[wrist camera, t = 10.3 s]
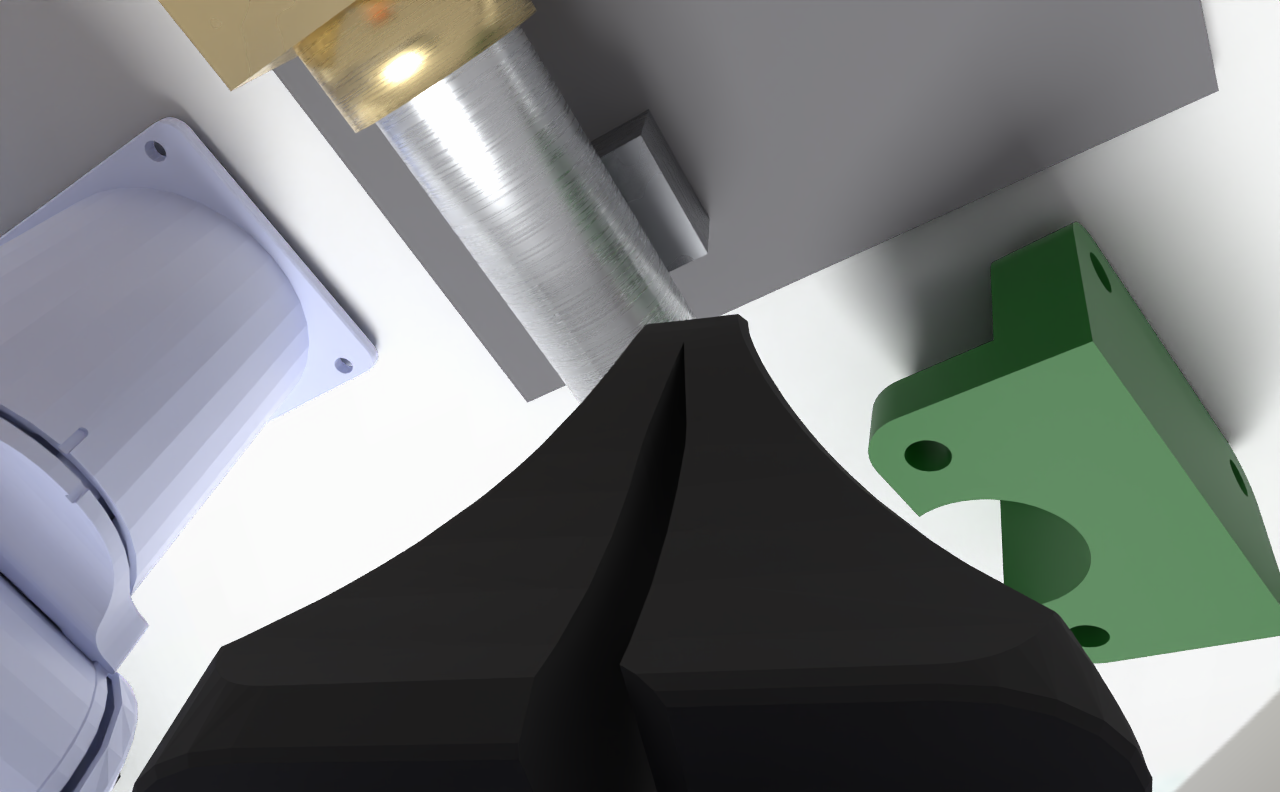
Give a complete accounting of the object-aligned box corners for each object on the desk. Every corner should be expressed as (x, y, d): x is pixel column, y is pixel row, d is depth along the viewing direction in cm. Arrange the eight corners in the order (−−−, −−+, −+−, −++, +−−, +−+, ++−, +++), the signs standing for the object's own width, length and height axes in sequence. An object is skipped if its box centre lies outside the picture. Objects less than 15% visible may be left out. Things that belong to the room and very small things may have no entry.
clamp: (906, 283, 26) (811, 378, 19) (1090, 190, 22) (1051, 267, 16) (1077, 584, 26) (1042, 775, 20) (1282, 540, 23) (1321, 754, 16)
